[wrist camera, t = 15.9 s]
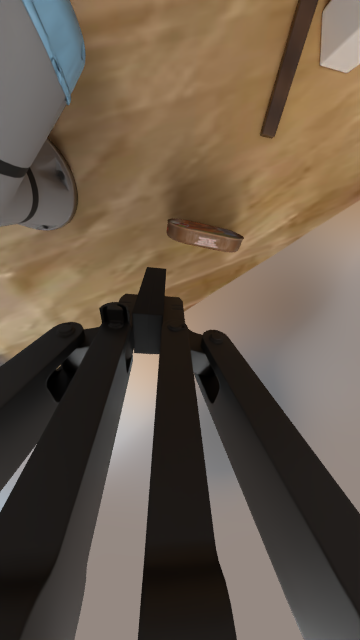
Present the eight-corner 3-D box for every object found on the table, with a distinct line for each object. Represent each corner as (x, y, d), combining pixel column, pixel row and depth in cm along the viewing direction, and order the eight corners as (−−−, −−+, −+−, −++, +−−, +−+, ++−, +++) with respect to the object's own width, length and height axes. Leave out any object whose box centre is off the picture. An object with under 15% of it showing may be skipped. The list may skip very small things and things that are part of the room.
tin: (236, 231, 37) (251, 238, 30) (231, 246, 39) (244, 256, 32) (168, 215, 35) (167, 219, 28) (166, 232, 37) (164, 240, 30)
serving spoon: (282, 140, 29) (286, 138, 28) (249, 133, 29) (251, 130, 28) (373, -126, 18) (384, -144, 17) (321, -148, 17) (330, -169, 16)
